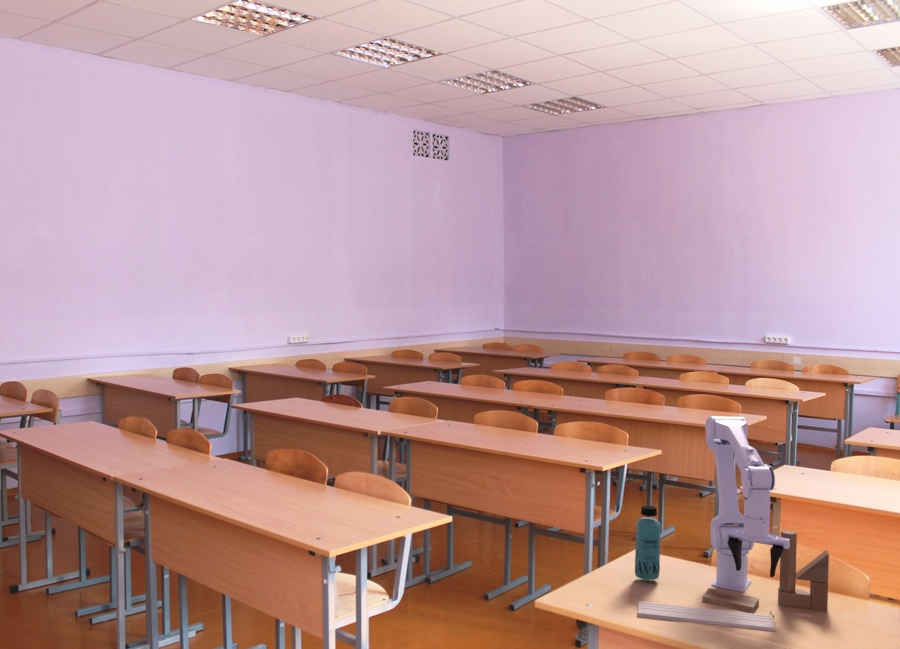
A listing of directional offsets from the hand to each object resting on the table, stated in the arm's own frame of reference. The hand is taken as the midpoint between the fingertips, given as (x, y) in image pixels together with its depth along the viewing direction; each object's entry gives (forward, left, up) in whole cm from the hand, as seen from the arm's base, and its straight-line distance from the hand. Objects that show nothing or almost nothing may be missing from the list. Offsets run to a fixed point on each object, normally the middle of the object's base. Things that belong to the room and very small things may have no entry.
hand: (755, 572), depth 186 cm
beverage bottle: (-5, -28, -10) cm, 30 cm away
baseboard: (+9, -9, -10) cm, 17 cm away
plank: (-2, -6, -9) cm, 11 cm away
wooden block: (-10, +9, -10) cm, 17 cm away
